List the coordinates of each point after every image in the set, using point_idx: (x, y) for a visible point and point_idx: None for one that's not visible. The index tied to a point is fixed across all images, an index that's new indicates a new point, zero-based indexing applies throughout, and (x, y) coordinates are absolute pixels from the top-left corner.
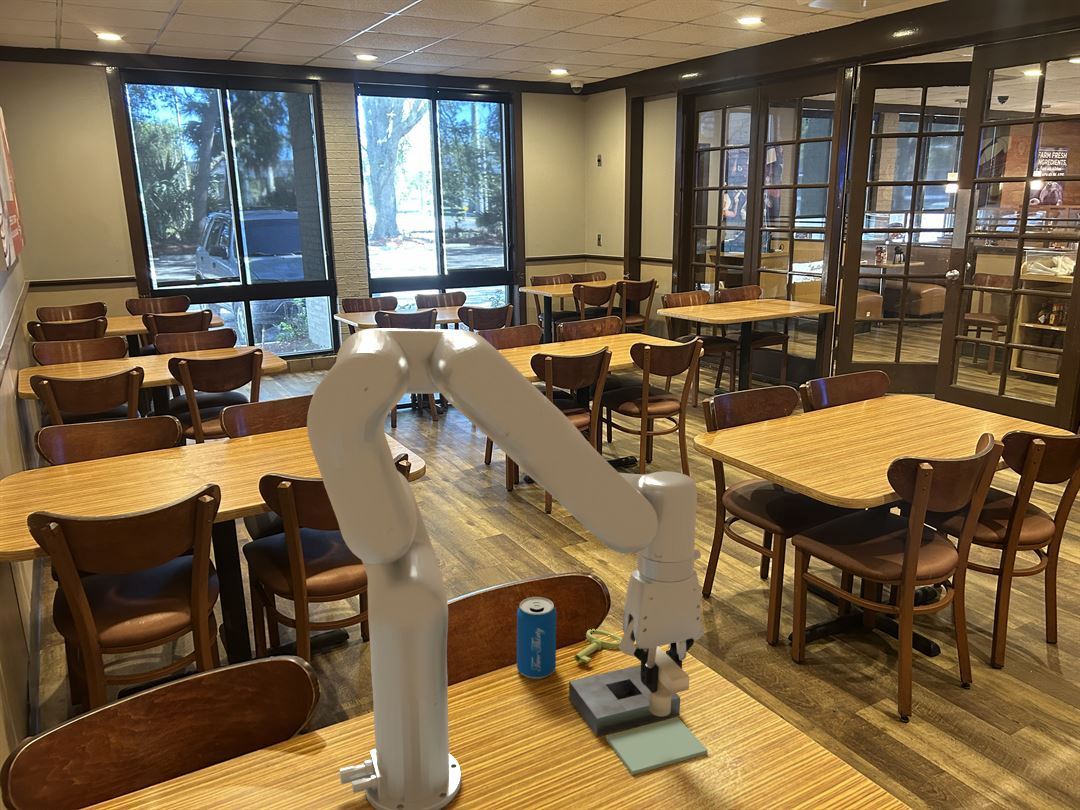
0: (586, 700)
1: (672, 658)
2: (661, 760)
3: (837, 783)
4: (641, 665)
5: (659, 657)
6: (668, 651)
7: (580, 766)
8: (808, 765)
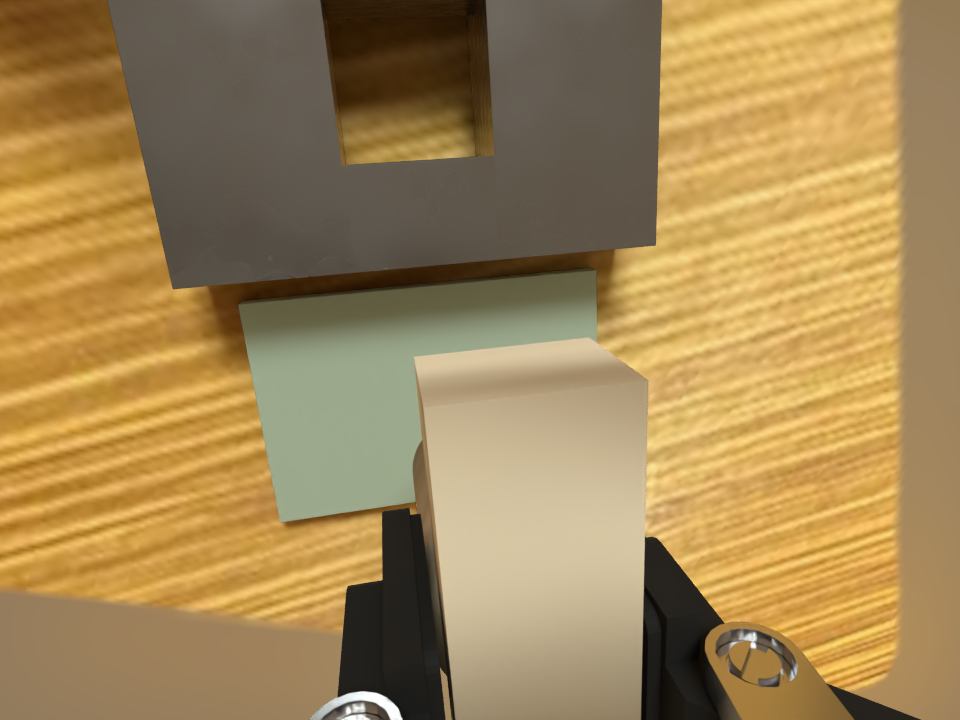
0: (149, 109)
1: (655, 717)
2: (412, 492)
3: (844, 635)
4: (341, 690)
5: (546, 701)
6: (683, 631)
7: (82, 431)
8: (832, 567)
